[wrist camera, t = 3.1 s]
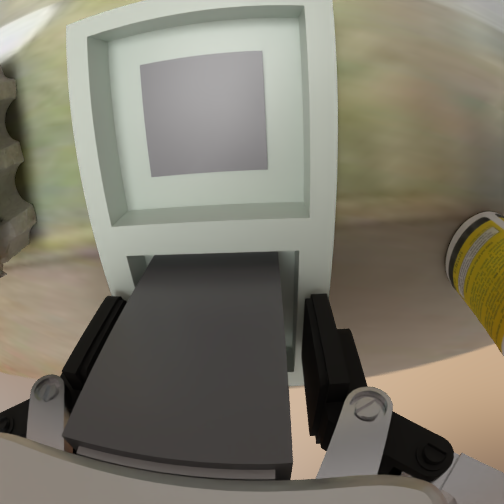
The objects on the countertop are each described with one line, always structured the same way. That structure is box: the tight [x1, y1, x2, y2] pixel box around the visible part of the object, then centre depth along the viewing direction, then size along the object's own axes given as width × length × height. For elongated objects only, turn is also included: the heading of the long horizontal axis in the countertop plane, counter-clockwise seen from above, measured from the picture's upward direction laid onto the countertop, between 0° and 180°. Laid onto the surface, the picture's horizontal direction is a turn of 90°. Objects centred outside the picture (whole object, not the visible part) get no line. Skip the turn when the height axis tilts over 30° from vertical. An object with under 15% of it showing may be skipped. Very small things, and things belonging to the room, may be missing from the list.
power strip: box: [66, 0, 338, 386], centre depth 11 cm, size 15×8×4 cm, turn 3°
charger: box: [62, 251, 293, 481], centre depth 9 cm, size 5×5×8 cm
